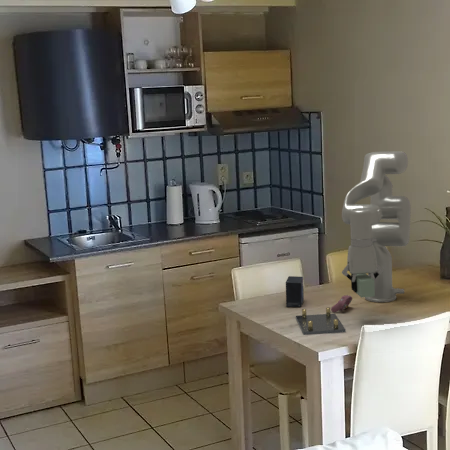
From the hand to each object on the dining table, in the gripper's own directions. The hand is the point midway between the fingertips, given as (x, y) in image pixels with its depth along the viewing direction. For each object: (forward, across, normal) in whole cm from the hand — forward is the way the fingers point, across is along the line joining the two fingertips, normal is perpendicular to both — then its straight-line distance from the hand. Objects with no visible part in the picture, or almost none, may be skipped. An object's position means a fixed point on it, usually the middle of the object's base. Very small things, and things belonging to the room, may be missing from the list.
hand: (362, 290), depth 261 cm
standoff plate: (+12, +16, +1) cm, 20 cm away
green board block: (+1, 0, 0) cm, 1 cm away
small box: (+13, +21, -29) cm, 38 cm away
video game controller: (+13, +5, -17) cm, 21 cm away
